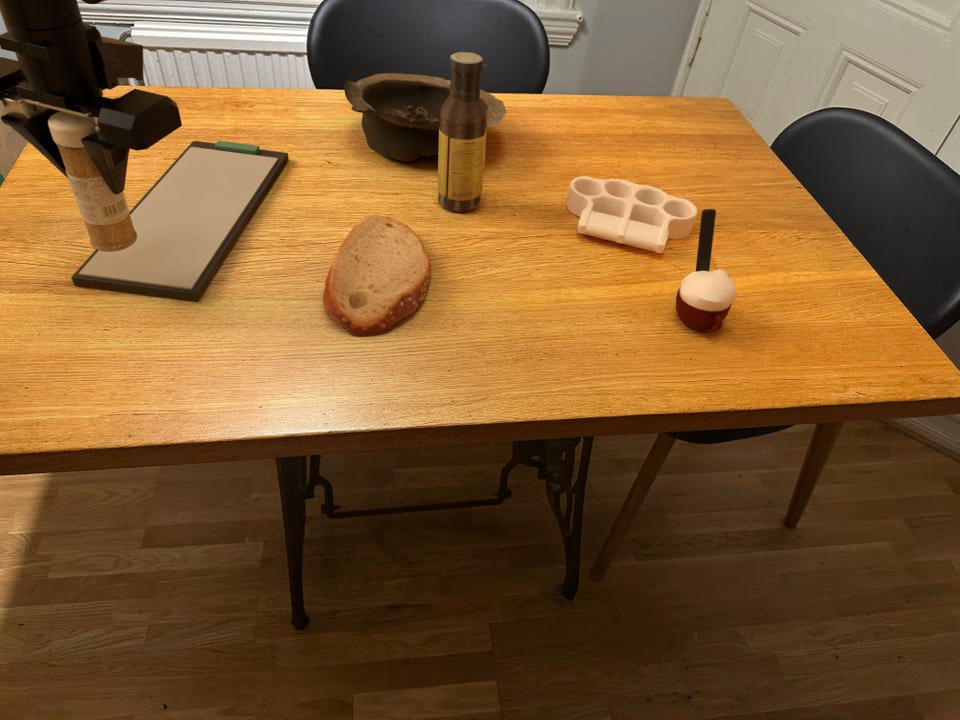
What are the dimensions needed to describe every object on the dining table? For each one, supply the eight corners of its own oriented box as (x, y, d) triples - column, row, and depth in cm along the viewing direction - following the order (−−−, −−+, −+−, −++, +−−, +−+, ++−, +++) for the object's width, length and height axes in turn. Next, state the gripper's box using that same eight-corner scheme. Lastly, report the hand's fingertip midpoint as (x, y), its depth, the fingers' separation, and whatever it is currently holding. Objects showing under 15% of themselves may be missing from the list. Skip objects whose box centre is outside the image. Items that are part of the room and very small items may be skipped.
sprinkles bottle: (129, 225, 75) (93, 102, 66) (144, 246, 72) (109, 121, 63) (84, 237, 72) (40, 112, 63) (98, 259, 70) (54, 132, 61)
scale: (198, 302, 77) (194, 287, 76) (73, 285, 77) (68, 271, 76) (289, 160, 102) (287, 147, 101) (194, 148, 102) (192, 135, 101)
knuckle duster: (552, 233, 94) (574, 184, 105) (684, 266, 91) (694, 213, 102) (556, 211, 92) (578, 164, 102) (692, 245, 89) (701, 192, 99)
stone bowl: (345, 177, 99) (341, 112, 93) (347, 115, 118) (344, 57, 113) (515, 178, 103) (522, 116, 97) (491, 117, 122) (495, 62, 116)
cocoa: (722, 349, 80) (761, 262, 71) (668, 337, 80) (699, 250, 72) (721, 300, 86) (756, 216, 78) (670, 289, 87) (700, 205, 79)
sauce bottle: (489, 202, 99) (505, 59, 85) (462, 219, 95) (475, 71, 81) (453, 186, 101) (464, 44, 87) (426, 202, 97) (432, 55, 84)
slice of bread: (385, 220, 93) (384, 195, 90) (478, 285, 84) (481, 259, 82) (266, 268, 83) (262, 241, 80) (358, 347, 74) (357, 321, 72)
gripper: (200, 11, 62) (229, 171, 72) (22, -26, 65) (75, 132, 75) (115, 53, 54) (162, 225, 64) (-82, 8, 57) (-6, 179, 67)
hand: (98, 186), depth 68 cm, fingers closed on sprinkles bottle, 4 cm apart
